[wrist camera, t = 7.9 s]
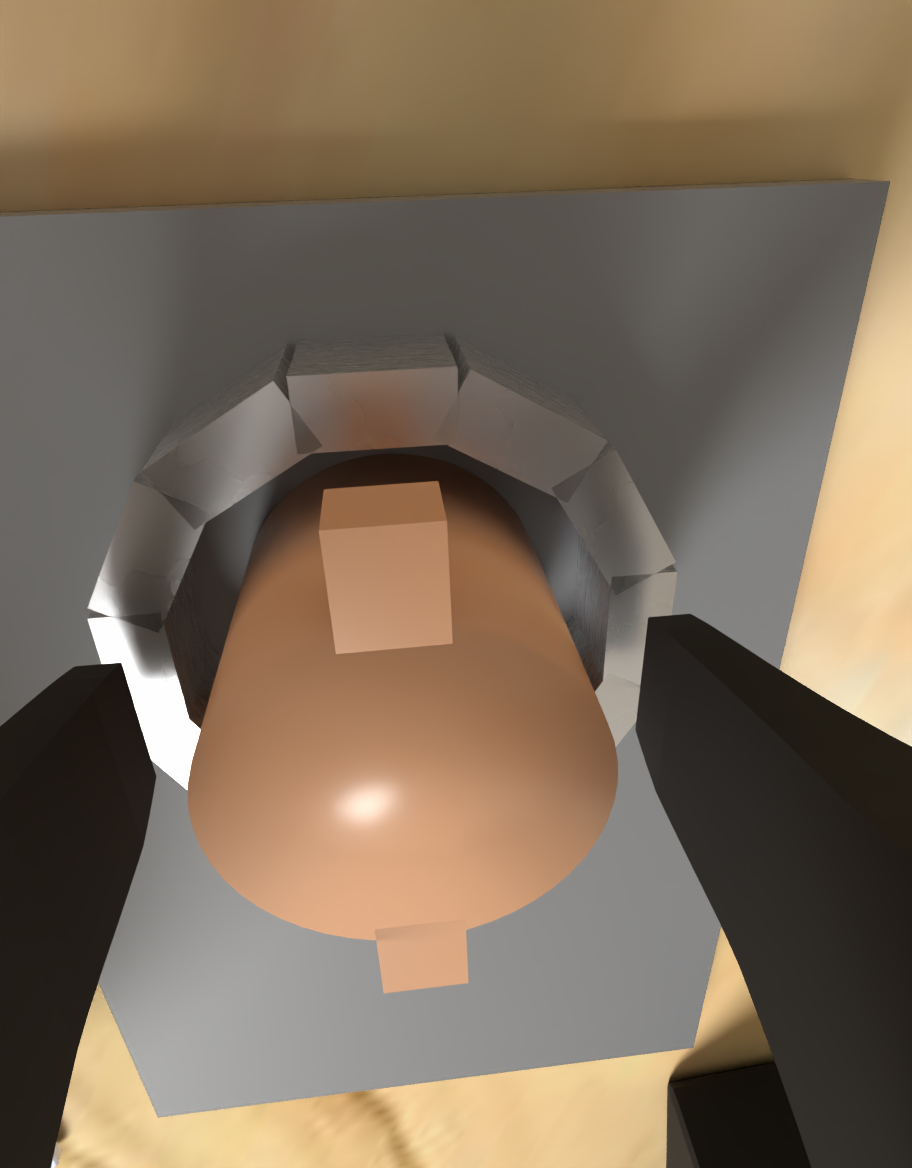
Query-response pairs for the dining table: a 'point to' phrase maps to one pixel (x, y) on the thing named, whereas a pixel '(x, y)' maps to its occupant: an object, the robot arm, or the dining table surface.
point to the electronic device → (733, 1122)
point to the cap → (399, 719)
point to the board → (547, 353)
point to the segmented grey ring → (363, 422)
